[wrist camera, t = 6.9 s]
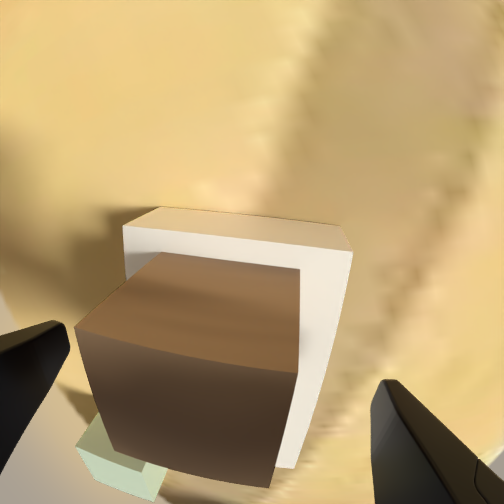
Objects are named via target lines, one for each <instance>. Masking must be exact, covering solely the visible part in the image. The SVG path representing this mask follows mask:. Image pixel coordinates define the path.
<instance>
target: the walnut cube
mask: <svg viewBox="0 0 504 504" xmlns="http://www.w3.org/2000/svg"><path fill="white" fill-rule="evenodd" d="M74 329H75V334H76V338H77V342H78V346H79V349H80V353H81V357H82V361H83V364H84V368H85V371H86V374H87V378H88V381H89V384H90V387H91V390H92V393H93V396H94V399H95V402H96V405H97V408H98V411H99V414H100V416H101V419H102V422H103V424H104V427H105V429H106V432H107V434H108V437H109V439H110V442H111V444H112V447H113V449H114V451H116V452H119V453H122V454H124V455H127V456H130V457H133V458H136V459H139V460H142V461H145V462H148V463H151V464H154V465H158V466H161V467H165V468H168V469H172V470H175V471H179V472H183V473H187V474H191V475H195V476H200V477H204V478H209V479H214V480H219V481H224V482H229V483H235V484H241V485H248V486H255V487H263V488H269V486H270V482H271V479H272V475H273V472H274V468H275V465H276V461H277V458H278V454H279V450H280V447H281V443H282V439H283V435H284V431H285V427H286V423H287V419H288V415H289V411H290V407H291V403H292V398H293V394H294V390H295V385H296V381H297V377H298V367H299V331H300V269H295V268H287V267H279V266H270V265H262V264H254V263H246V262H238V261H230V260H222V259H214V258H206V257H199V256H191V255H183V254H175V253H168V252H160V253H159V254H158V255H157V256H155V257H154V258H153V259H152V260H151V261H149V262H148V263H147V264H146V265H145V266H143V267H142V268H141V269H140V270H139V271H137V272H136V273H135V274H134V275H133V276H131V277H130V278H129V279H128V280H127V281H126V282H124V283H123V284H122V285H121V286H120V287H119V288H117V289H116V290H115V291H114V292H113V293H112V294H111V295H109V296H108V297H107V298H106V299H105V300H104V301H102V302H101V303H100V304H99V305H98V306H97V307H96V308H95V309H93V310H92V311H91V312H90V313H89V314H88V315H87V316H86V317H84V318H83V319H82V320H81V321H80V322H79V323H78V324H77V325H76V326H75V327H74Z"/></svg>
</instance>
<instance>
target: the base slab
mask: <svg viewBox="0 0 504 504" xmlns="http://www.w3.org/2000/svg"><path fill="white" fill-rule="evenodd" d="M123 242H124V259H125V272H126V281H127V280H128V279H129V278H130V277H131V276H133V275H134V274H135V273H136V272H137V271H139V270H140V269H141V268H142V267H143V266H145V265H146V264H147V263H148V262H149V261H151V260H152V259H153V258H154V257H155V256H157V255H158V254H159V253H160V252H168V253H175V254H183V255H191V256H199V257H206V258H214V259H222V260H230V261H238V262H246V263H254V264H262V265H270V266H279V267H287V268H295V269H300V331H299V367H298V377H297V381H296V385H295V390H294V394H293V398H292V403H291V407H290V411H289V415H288V419H287V423H286V427H285V431H284V435H283V439H282V443H281V447H280V450H279V454H278V458H277V461H276V465H275V467H281V468H291V469H294V467H295V464H296V462H297V459H298V456H299V453H300V451H301V448H302V445H303V442H304V439H305V436H306V433H307V430H308V427H309V424H310V421H311V418H312V415H313V412H314V409H315V406H316V402H317V399H318V396H319V393H320V389H321V386H322V382H323V379H324V375H325V372H326V368H327V365H328V361H329V357H330V354H331V350H332V346H333V342H334V338H335V334H336V330H337V326H338V322H339V318H340V313H341V309H342V305H343V300H344V296H345V291H346V287H347V282H348V277H349V272H350V267H351V262H352V257H353V250H352V248H351V246H350V244H349V242H348V240H347V238H346V236H345V234H344V232H343V230H342V228H341V226H337V225H329V224H321V223H313V222H305V221H297V220H288V219H280V218H271V217H262V216H253V215H243V214H234V213H224V212H214V211H203V210H192V209H181V208H170V207H159V208H157V209H155V210H153V211H151V212H149V213H147V214H144V215H142V216H140V217H138V218H136V219H134V220H132V221H130V222H128V223H127V224H125V225H123Z"/></svg>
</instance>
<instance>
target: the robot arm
mask: <svg viewBox="0 0 504 504" xmlns="http://www.w3.org/2000/svg"><path fill="white" fill-rule="evenodd" d="M69 352H70V343H69V339H68V335H67V331H66V327H65V325H64V324H63V323H61V322H58V321H55V320H51V321H48V322H44V323H41V324H38V325H34V326H31V327H28V328H24V329H21V330H18V331H14V332H11V333H8V334H4V335H1V336H0V474H1V472H2V470H3V469H4V466H5V464H6V463H7V461H8V459H9V457H10V455H11V454H12V452H13V450H14V448H15V447H16V444H17V443H18V441H19V440H20V438H21V436H22V434H23V433H24V430H25V429H26V427H27V426H28V424H29V422H30V421H31V419H32V417H33V416H34V414H35V413H36V411H37V409H38V408H39V406H40V404H41V403H42V401H43V400H44V398H45V397H46V395H47V393H48V392H49V390H50V388H51V386H52V385H53V383H54V381H55V379H56V377H57V375H58V373H59V371H60V369H61V367H62V365H63V363H64V361H65V360H66V358H67V356H68V354H69ZM370 412H371V465H372V475H373V485H374V497H375V504H504V481H503V480H502V479H501V478H500V477H498V476H497V475H496V474H495V473H494V472H493V471H492V470H491V469H490V468H489V467H488V466H487V465H486V464H484V463H483V462H482V461H481V460H480V459H478V457H477V456H476V455H475V454H474V453H473V452H472V451H471V450H470V449H469V448H468V447H467V446H466V445H465V444H464V443H463V442H462V441H460V440H459V439H458V438H457V437H456V436H455V435H454V434H453V433H452V432H451V431H450V430H449V429H448V428H447V427H446V426H445V425H444V424H443V423H442V422H441V421H440V420H439V419H438V418H437V417H435V416H434V415H433V414H432V413H431V412H430V411H429V410H428V409H427V408H426V407H425V406H424V405H423V404H422V403H421V402H420V401H419V400H418V399H417V398H416V397H415V396H413V395H412V394H411V393H410V392H409V391H408V390H407V389H406V388H405V387H404V386H403V385H402V384H401V383H400V382H399V381H397V380H394V379H384V380H382V381H381V382H380V384H379V386H378V388H377V391H376V393H375V395H374V397H373V400H372V403H371V409H370Z"/></svg>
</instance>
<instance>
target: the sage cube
mask: <svg viewBox="0 0 504 504" xmlns="http://www.w3.org/2000/svg"><path fill="white" fill-rule="evenodd" d="M75 447H76V449H77V450H78V452H79V454H80V455H81V457H82V459H83V461H84V463H85V464H86V466H87V467H88V469H89V471H90V472H91V474H92V476H93V477H94V479H95V480H96V481H99V482H101V483H103V484H106V485H108V486H110V487H113V488H115V489H118V490H121V491H123V492H126V493H128V494H131V495H134V496H137V497H140V498H143V499H145V500H148V501H151V502H154V501H155V499H156V496H157V494H158V491H159V489H160V486H161V484H162V482H163V479H164V477H165V474H166V472H167V469H168V468H165V467H161V466H158V465H154V464H151V463H148V462H145V461H142V460H139V459H136V458H133V457H130V456H127V455H124V454H122V453H119V452H116V451H114V449H113V447H112V444H111V442H110V439H109V437H108V434H107V432H106V429H105V427H104V424H103V422H102V419H101V416H100V414H99V412H98V413H97V415H96V416H95V418H94V419H93V421H92V422H91V423H90V425H89V426H88V428H87V429H86V431H85V432H84V434H83V435H82V437H81V438H80V440H79V441H78V443H77V444H76V446H75Z"/></svg>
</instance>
